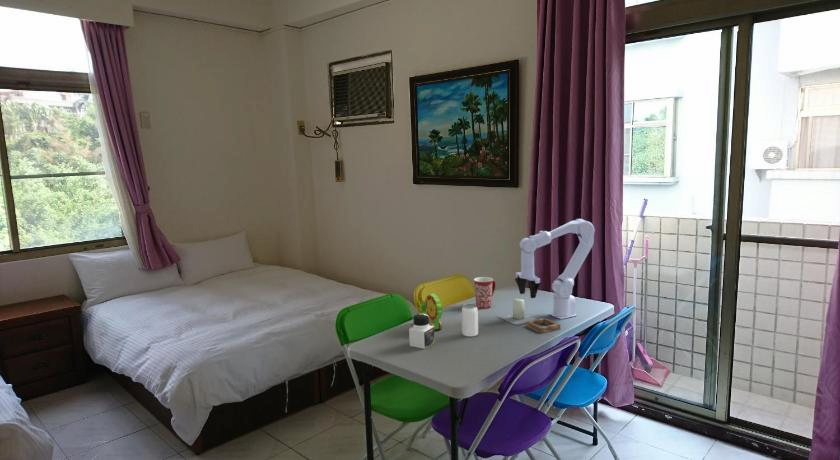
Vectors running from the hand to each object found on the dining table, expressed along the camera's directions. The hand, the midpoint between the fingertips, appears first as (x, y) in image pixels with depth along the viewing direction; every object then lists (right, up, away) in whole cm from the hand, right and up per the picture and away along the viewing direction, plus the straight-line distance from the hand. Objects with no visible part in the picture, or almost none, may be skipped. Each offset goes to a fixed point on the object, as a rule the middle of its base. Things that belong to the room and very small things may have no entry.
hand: (527, 295), depth 229 cm
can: (-27, -14, -17) cm, 35 cm away
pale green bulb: (-4, -10, -1) cm, 11 cm away
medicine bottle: (-47, -16, -27) cm, 56 cm away
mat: (-4, -10, -1) cm, 11 cm away
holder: (+4, -12, -12) cm, 17 cm away
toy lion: (-43, -13, -7) cm, 45 cm away
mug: (-16, -8, +20) cm, 27 cm away
